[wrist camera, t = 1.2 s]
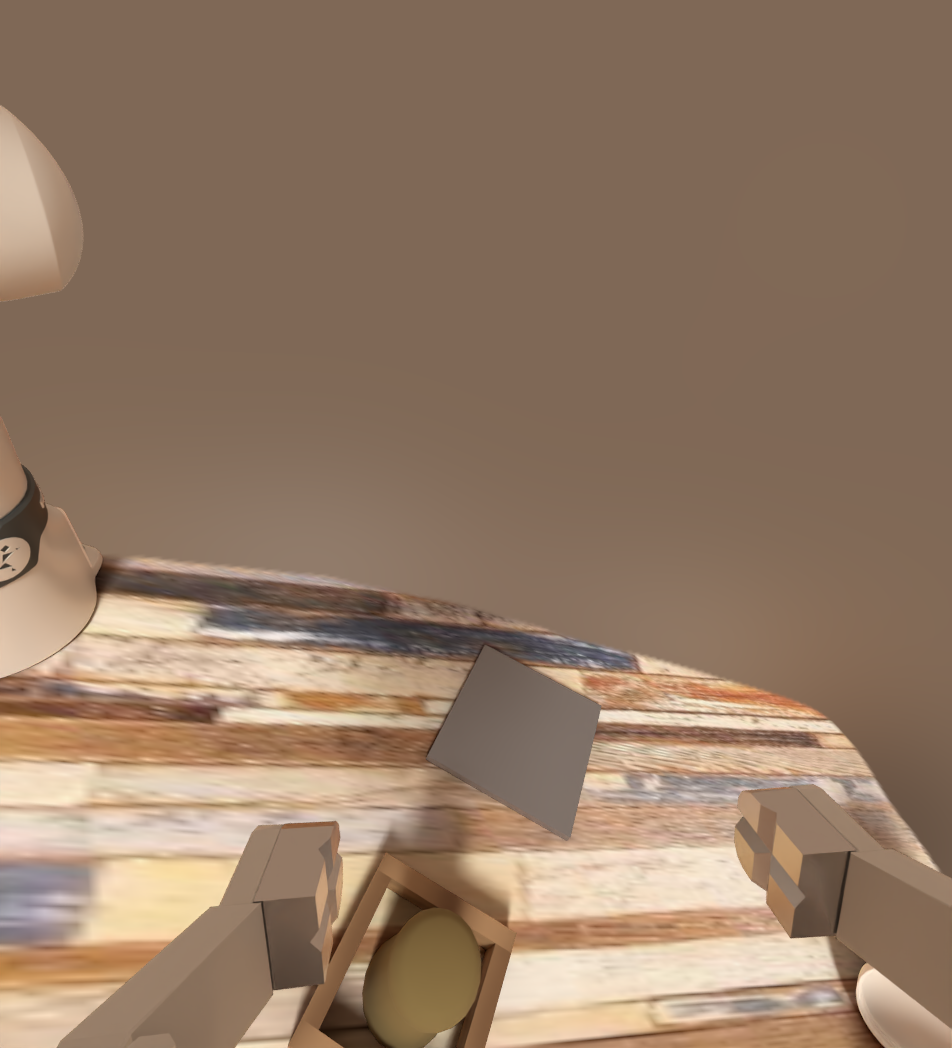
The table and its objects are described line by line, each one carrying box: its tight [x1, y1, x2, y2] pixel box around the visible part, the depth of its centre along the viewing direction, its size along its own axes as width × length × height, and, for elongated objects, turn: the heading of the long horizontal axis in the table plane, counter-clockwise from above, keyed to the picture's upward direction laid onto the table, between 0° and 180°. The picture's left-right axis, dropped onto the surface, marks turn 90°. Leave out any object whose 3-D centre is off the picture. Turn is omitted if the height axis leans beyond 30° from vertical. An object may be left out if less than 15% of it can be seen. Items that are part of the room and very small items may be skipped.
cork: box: [362, 908, 481, 1048], centre depth 30 cm, size 6×6×11 cm
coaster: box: [426, 645, 601, 841], centre depth 49 cm, size 14×14×1 cm
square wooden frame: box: [288, 853, 517, 1048], centre depth 33 cm, size 11×11×2 cm
